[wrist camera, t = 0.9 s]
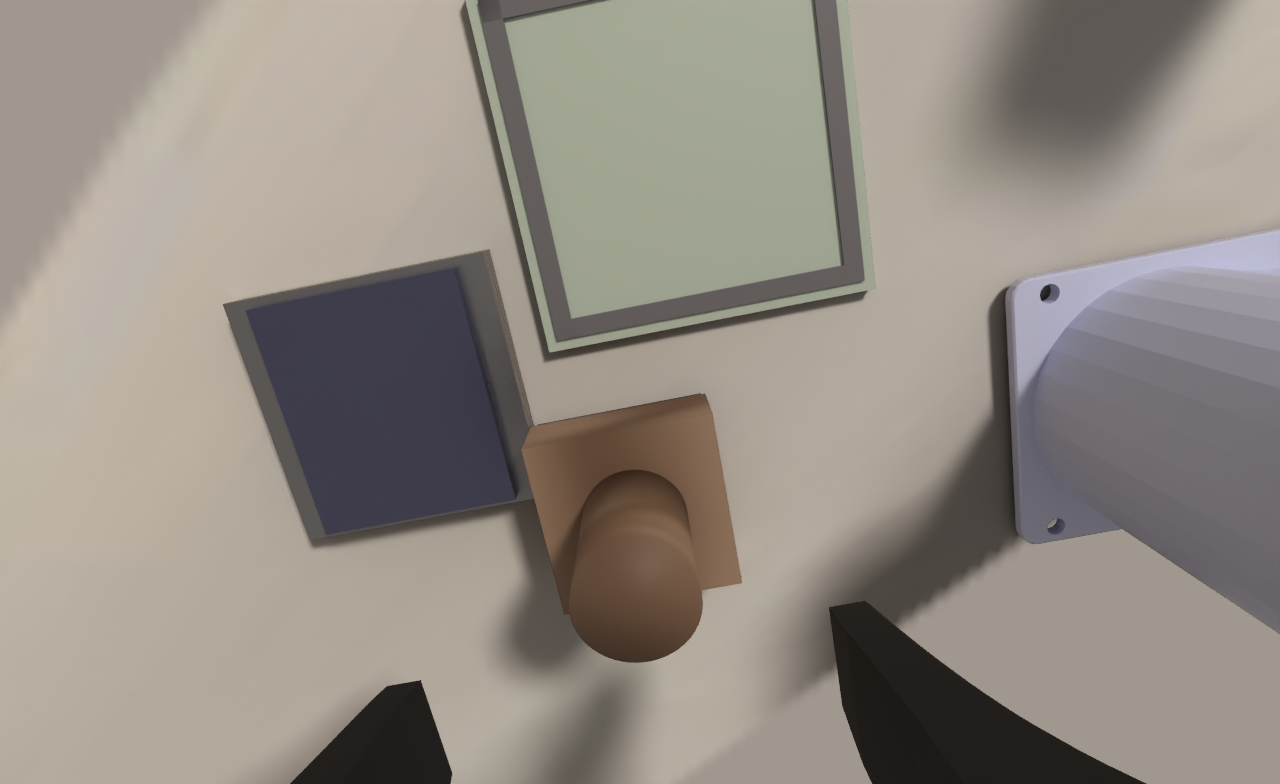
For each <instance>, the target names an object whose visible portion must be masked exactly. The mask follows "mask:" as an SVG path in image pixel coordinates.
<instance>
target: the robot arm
mask: <svg viewBox="0 0 1280 784" xmlns="http://www.w3.org/2000/svg"><path fill="white" fill-rule="evenodd" d="M1048 284H1049V285H1050V288H1051V292H1050V296H1049V297H1048V298H1047V299H1046V300H1044V301H1041V298H1040V292H1041V290H1042V289H1043V287H1044V286H1046V285H1048ZM1005 303H1006V325H1007V346H1008V368H1009V390H1010V412H1011V434H1012V455H1013V477H1014V499H1015V521H1016V530H1017V533H1018V534H1019V535H1020V536H1021V537H1022V538H1023V539H1024V540H1026V541H1027V542H1029V543H1032V544H1040V543H1046V542H1051V541H1057V540H1063V539H1068V538H1074V537H1079V536H1085V535H1090V534H1096V533H1102V532H1108V531H1113V530H1119V529H1123V530H1125V531H1126V532H1128V533H1129V534H1131V535H1132V536H1134V537H1135V538H1137V539H1138V540H1140V541H1142V542H1143V543H1144V544H1146V545H1147V546H1149V547H1150V548H1152V549H1153V550H1155V551H1156V552H1158V553H1159V554H1161V555H1162V556H1164V557H1165V558H1167V559H1168V560H1170V561H1171V562H1173V563H1174V564H1176V565H1177V566H1179V567H1180V568H1182V569H1183V570H1185V571H1186V572H1188V573H1189V574H1191V575H1192V576H1194V577H1195V578H1197V579H1198V580H1200V581H1201V582H1203V583H1204V584H1206V585H1207V586H1209V587H1210V588H1211V589H1213V590H1215V591H1216V592H1217V593H1219V594H1220V595H1222V596H1224V597H1225V598H1227V599H1228V600H1230V601H1231V602H1232V603H1234V604H1235V605H1237V606H1238V607H1240V608H1241V609H1243V610H1244V611H1246V612H1247V613H1249V614H1250V615H1252V616H1253V617H1255V618H1256V619H1258V620H1260V621H1261V622H1262V623H1264V624H1265V625H1267V626H1268V627H1270V628H1272V629H1273V630H1275V631H1276V632H1277V633H1279V634H1280V228H1275V229H1270V230H1265V231H1260V232H1255V233H1250V234H1244V235H1239V236H1234V237H1229V238H1224V239H1219V240H1214V241H1208V242H1203V243H1198V244H1193V245H1188V246H1183V247H1177V248H1172V249H1167V250H1162V251H1157V252H1152V253H1147V254H1141V255H1136V256H1131V257H1126V258H1121V259H1116V260H1111V261H1105V262H1100V263H1095V264H1090V265H1085V266H1080V267H1075V268H1069V269H1064V270H1059V271H1054V272H1049V273H1044V274H1039V275H1033V276H1028V277H1023V278H1021V279H1018V280H1016V281H1015V282H1013V283H1012V284H1011V285H1010V287H1009V288H1008V290H1007V292H1006V298H1005ZM1056 518H1057V522H1056V524H1055V525H1054V526H1053V527H1051V528H1047V527H1048V524H1049V523H1050V521H1051V520H1054V519H1056ZM829 611H830V618H831V625H832V633H833V640H834V647H835V655H836V662H837V670H838V677H839V684H840V691H841V698H842V706H843V709H844V712H845V714H846V717H847V720H848V723H849V726H850V729H851V732H852V735H853V738H854V740H855V743H856V746H857V748H858V751H859V754H860V757H861V760H862V762H863V765H864V767H865V769H866V771H867V773H868V776H869V778H870V780H871V782H872V784H1146V783H1144V782H1141V781H1139V780H1137V779H1135V778H1133V777H1131V776H1129V775H1127V774H1125V773H1123V772H1121V771H1119V770H1117V769H1115V768H1113V767H1110V766H1108V765H1106V764H1104V763H1102V762H1100V761H1099V760H1096V759H1095V758H1093V757H1091V756H1089V755H1087V754H1085V753H1083V752H1081V751H1079V750H1077V749H1076V748H1074V747H1072V746H1070V745H1069V744H1067V743H1065V742H1063V741H1061V740H1060V739H1058V738H1056V737H1054V736H1053V735H1051V734H1049V733H1047V732H1045V731H1044V730H1042V729H1040V728H1038V727H1037V726H1035V725H1033V724H1031V723H1030V722H1028V721H1026V720H1025V719H1023V718H1022V717H1020V716H1018V715H1017V714H1015V713H1014V712H1012V711H1010V710H1009V709H1007V708H1006V707H1004V706H1002V705H1001V704H1000V703H998V702H997V701H995V700H994V699H992V698H991V697H989V696H988V695H986V694H985V693H983V692H982V691H980V690H979V689H978V688H976V687H975V686H973V685H972V684H970V683H969V682H968V681H966V680H965V679H963V678H962V677H961V676H959V675H958V674H956V673H955V672H954V671H953V670H951V669H950V668H948V667H947V666H946V665H944V664H943V663H942V662H940V661H939V660H938V659H936V658H935V657H934V656H932V655H931V654H930V653H929V652H927V651H926V650H925V649H923V648H922V647H921V646H920V645H918V644H917V643H916V642H915V641H913V640H912V639H911V638H910V637H908V636H907V635H906V634H905V633H903V632H902V631H901V630H900V629H899V628H897V627H896V626H895V625H894V624H893V623H891V622H890V621H889V620H888V619H887V618H885V617H884V616H883V615H882V614H881V613H879V612H878V611H877V610H876V609H875V608H873V607H872V606H871V605H870V604H868V603H867V602H865V601H862V602H856V603H851V604H845V605H840V606H834V607H829ZM451 777H452V771H451V768H450V765H449V762H448V760H447V757H446V754H445V751H444V748H443V745H442V742H441V739H440V736H439V733H438V730H437V727H436V724H435V721H434V718H433V715H432V712H431V709H430V707H429V704H428V701H427V698H426V695H425V692H424V689H423V686H422V683H421V680H420V681H414V682H408V683H403V684H397V685H392V686H387V687H386V688H385V689H384V690H382V691H381V692H380V693H379V694H378V695H377V696H376V697H375V698H374V699H373V700H372V701H371V702H370V703H369V704H368V705H367V706H366V707H365V708H364V709H363V710H362V711H361V712H360V713H359V714H358V715H357V716H356V717H355V718H354V719H353V720H352V721H351V722H350V723H349V724H348V725H347V726H346V727H345V728H344V729H343V730H342V731H341V732H340V733H339V734H338V735H337V737H336V738H335V739H334V740H333V741H332V742H331V743H330V744H329V745H328V746H327V747H326V748H325V749H324V750H323V751H322V752H321V753H320V754H319V755H318V756H317V757H316V758H315V759H314V760H313V761H312V762H311V763H310V764H309V765H308V766H307V767H306V768H305V769H304V770H303V771H302V772H301V773H300V774H299V775H298V776H297V777H296V778H295V779H294V780H293V781H292V782H291V783H290V784H450V783H451Z"/></svg>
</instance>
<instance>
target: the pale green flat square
mask: <svg viewBox="0 0 1280 784" xmlns="http://www.w3.org/2000/svg"><path fill="white" fill-rule="evenodd" d="M465 1H466V5H467V10H468V14H469V18H470V22H471V26H472V31H473V35H474V39H475V43H476V47H477V52H478V56H479V60H480V64H481V68H482V72H483V77H484V81H485V85H486V89H487V93H488V98H489V102H490V106H491V110H492V114H493V119H494V123H495V127H496V131H497V135H498V140H499V144H500V148H501V152H502V156H503V160H504V165H505V169H506V173H507V177H508V181H509V186H510V190H511V194H512V198H513V202H514V207H515V211H516V215H517V219H518V223H519V227H520V232H521V236H522V240H523V244H524V248H525V253H526V257H527V261H528V265H529V269H530V274H531V278H532V282H533V286H534V290H535V294H536V299H537V303H538V307H539V311H540V315H541V320H542V324H543V328H544V332H545V336H546V341H547V345H548V349H549V353H550V352H555V351H560V350H565V349H570V348H576V347H581V346H586V345H591V344H596V343H601V342H606V341H611V340H617V339H622V338H627V337H632V336H637V335H642V334H647V333H652V332H657V331H663V330H668V329H673V328H678V327H683V326H688V325H693V324H698V323H704V322H709V321H714V320H719V319H724V318H729V317H734V316H739V315H744V314H750V313H755V312H760V311H765V310H770V309H775V308H780V307H785V306H791V305H796V304H801V303H806V302H811V301H816V300H821V299H826V298H831V297H837V296H842V295H847V294H852V293H857V292H862V291H867V290H872V289H876V284H875V274H874V264H873V254H872V243H871V233H870V223H869V213H868V203H867V193H866V183H865V172H864V162H863V152H862V142H861V132H860V122H859V112H858V101H857V91H856V81H855V71H854V61H853V51H852V41H851V31H850V20H849V10H848V0H465Z"/></svg>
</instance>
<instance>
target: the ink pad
mask: <svg viewBox="0 0 1280 784" xmlns="http://www.w3.org/2000/svg"><path fill="white" fill-rule="evenodd" d="M223 306H224V309H225V311H226V314H227V317H228V320H229V322H230V325H231V328H232V330H233V333H234V336H235V339H236V341H237V344H238V347H239V349H240V352H241V355H242V358H243V360H244V363H245V366H246V368H247V371H248V374H249V377H250V379H251V382H252V385H253V387H254V390H255V393H256V396H257V398H258V401H259V404H260V406H261V409H262V412H263V415H264V417H265V420H266V423H267V425H268V428H269V431H270V434H271V436H272V439H273V442H274V444H275V447H276V450H277V453H278V455H279V458H280V461H281V463H282V466H283V469H284V471H285V474H286V477H287V480H288V482H289V485H290V488H291V490H292V493H293V496H294V499H295V501H296V504H297V507H298V509H299V512H300V515H301V518H302V520H303V523H304V526H305V528H306V531H307V534H308V537H309V539H310V541H311V540H316V539H322V538H327V537H332V536H338V535H343V534H348V533H354V532H359V531H365V530H370V529H375V528H381V527H386V526H391V525H397V524H402V523H407V522H413V521H418V520H424V519H429V518H434V517H440V516H445V515H450V514H456V513H461V512H466V511H472V510H477V509H483V508H488V507H493V506H499V505H504V504H509V503H515V502H520V501H525V500H531V499H534V496H533V492H532V489H531V485H530V481H529V477H528V473H527V469H526V466H525V462H524V458H523V454H522V450H521V449H522V447H523V444H524V442H525V440H526V438H527V435H528V433H529V431H530V429H531V427H532V426H534V424H533V420H532V416H531V412H530V408H529V404H528V401H527V397H526V393H525V389H524V385H523V381H522V377H521V373H520V369H519V365H518V361H517V357H516V353H515V349H514V345H513V341H512V337H511V333H510V329H509V325H508V322H507V318H506V314H505V310H504V306H503V302H502V298H501V294H500V290H499V286H498V282H497V278H496V274H495V270H494V266H493V262H492V258H491V254H490V250H484V251H479V252H474V253H469V254H464V255H459V256H454V257H449V258H444V259H439V260H434V261H430V262H425V263H420V264H415V265H410V266H405V267H400V268H395V269H390V270H385V271H380V272H375V273H370V274H365V275H360V276H356V277H351V278H346V279H341V280H336V281H331V282H326V283H321V284H316V285H311V286H306V287H301V288H296V289H291V290H286V291H282V292H277V293H272V294H267V295H262V296H257V297H252V298H247V299H242V300H238V301H234V302H230V303H226V304H223Z"/></svg>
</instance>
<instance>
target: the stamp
mask: <svg viewBox="0 0 1280 784" xmlns="http://www.w3.org/2000/svg"><path fill="white" fill-rule="evenodd" d="M521 450H522V454H523V458H524V462H525V466H526V469H527V473H528V477H529V481H530V485H531V489H532V492H533V496H534V500H535V504H536V508H537V511H538V515H539V519H540V523H541V527H542V530H543V534H544V538H545V542H546V546H547V549H548V553H549V557H550V561H551V565H552V569H553V572H554V576H555V580H556V584H557V588H558V591H559V595H560V599H561V603H562V607H563V610H564V614H570V617H571V620H572V623H573V626H574V628H575V630H576V632H577V633H578V634H579V636H580V637H581V639H582V640H583V641H584V642H585V643H586V644H587V645H588V646H590V647H591V648H592V649H593V650H595V651H596V652H598V653H600V654H602V655H604V656H606V657H608V658H611V659H614V660H618V661H623V662H648V661H653V660H657V659H660V658H662V657H665V656H667V655H669V654H671V653H673V652H674V651H676V650H678V649H679V648H680V647H681V646H683V645H684V644H685V643H686V642H687V641H688V640H689V639H690V638H691V636H692V635H693V633H694V632H695V630H696V628H697V626H698V624H699V621H700V618H701V614H702V606H703V601H702V593H701V590H705V589H711V588H717V587H722V586H728V585H734V584H739V583H742V580H741V574H740V568H739V563H738V557H737V551H736V546H735V540H734V534H733V528H732V523H731V517H730V511H729V506H728V500H727V494H726V488H725V483H724V477H723V471H722V466H721V460H720V454H719V449H718V443H717V437H716V431H715V426H714V420H713V414H712V411H711V408H710V406H709V403H708V400H707V398H706V395H705V394H701V393H700V394H695V395H690V396H685V397H679V398H674V399H669V400H664V401H659V402H653V403H648V404H643V405H638V406H632V407H627V408H622V409H617V410H612V411H606V412H601V413H596V414H591V415H585V416H580V417H575V418H570V419H565V420H559V421H554V422H549V423H544V424H539V425H537V426H532V427H531V429H530V431H529V433H528V435H527V438H526V440H525V442H524V444H523V447H522V449H521Z"/></svg>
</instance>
